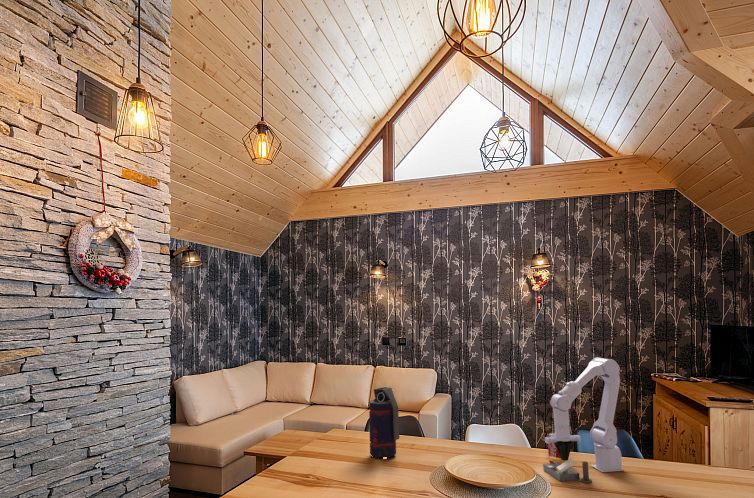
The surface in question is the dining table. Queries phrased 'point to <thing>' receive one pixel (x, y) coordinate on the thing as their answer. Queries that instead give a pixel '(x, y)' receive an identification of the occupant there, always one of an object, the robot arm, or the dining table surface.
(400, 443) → the dining table surface
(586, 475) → the post
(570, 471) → the grey tray
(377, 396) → the grenade
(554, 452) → the soda can
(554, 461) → the paddle amber
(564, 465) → the paddle beige
